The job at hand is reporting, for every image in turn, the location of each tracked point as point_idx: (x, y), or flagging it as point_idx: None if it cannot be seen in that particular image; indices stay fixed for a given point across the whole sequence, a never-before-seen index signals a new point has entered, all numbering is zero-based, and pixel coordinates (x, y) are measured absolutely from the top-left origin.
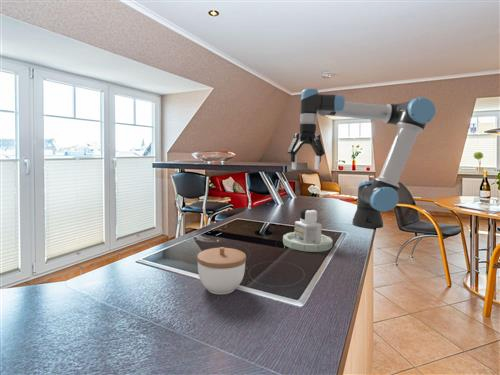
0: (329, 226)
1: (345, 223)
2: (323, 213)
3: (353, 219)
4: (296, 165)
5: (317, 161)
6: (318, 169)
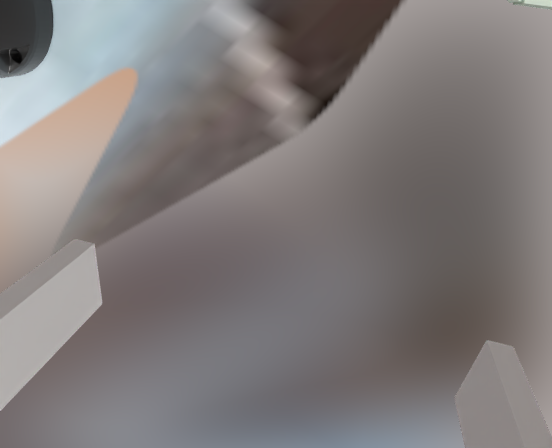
0: (183, 83)
1: (71, 83)
2: None
3: (29, 50)
4: (505, 393)
5: (6, 341)
6: (86, 242)
